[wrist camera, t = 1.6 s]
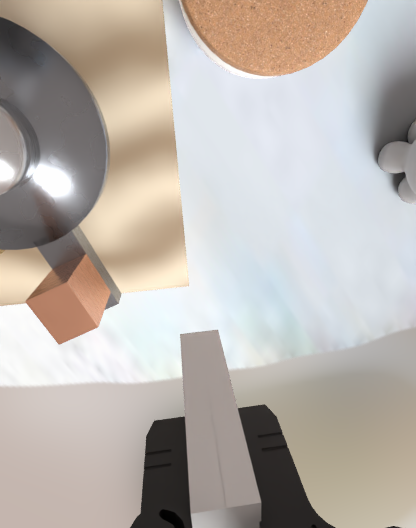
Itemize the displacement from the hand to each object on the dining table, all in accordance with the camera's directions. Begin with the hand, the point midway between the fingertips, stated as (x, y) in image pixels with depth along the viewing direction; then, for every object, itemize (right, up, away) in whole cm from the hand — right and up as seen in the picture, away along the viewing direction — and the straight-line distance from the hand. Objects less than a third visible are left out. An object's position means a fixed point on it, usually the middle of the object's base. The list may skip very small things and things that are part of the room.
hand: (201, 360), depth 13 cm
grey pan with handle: (-11, +9, +7) cm, 15 cm away
